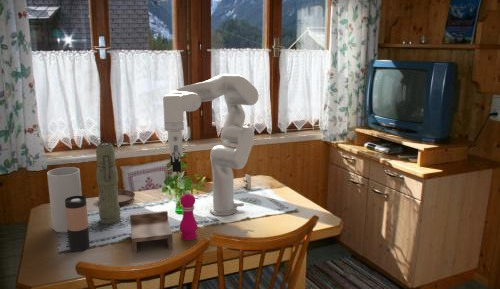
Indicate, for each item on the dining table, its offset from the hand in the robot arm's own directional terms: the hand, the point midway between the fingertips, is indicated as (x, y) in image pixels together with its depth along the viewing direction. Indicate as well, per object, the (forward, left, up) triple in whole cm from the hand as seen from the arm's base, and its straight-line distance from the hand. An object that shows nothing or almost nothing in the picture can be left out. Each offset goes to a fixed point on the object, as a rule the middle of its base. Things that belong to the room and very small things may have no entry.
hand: (175, 168), depth 178 cm
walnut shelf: (+11, +4, -29) cm, 31 cm away
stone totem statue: (+27, -23, -29) cm, 46 cm away
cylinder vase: (+44, -20, -29) cm, 56 cm away
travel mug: (+38, +2, -29) cm, 48 cm away
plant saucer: (+24, -48, -29) cm, 61 cm away
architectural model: (-44, -50, -29) cm, 73 cm away
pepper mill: (-4, +4, -29) cm, 29 cm away
